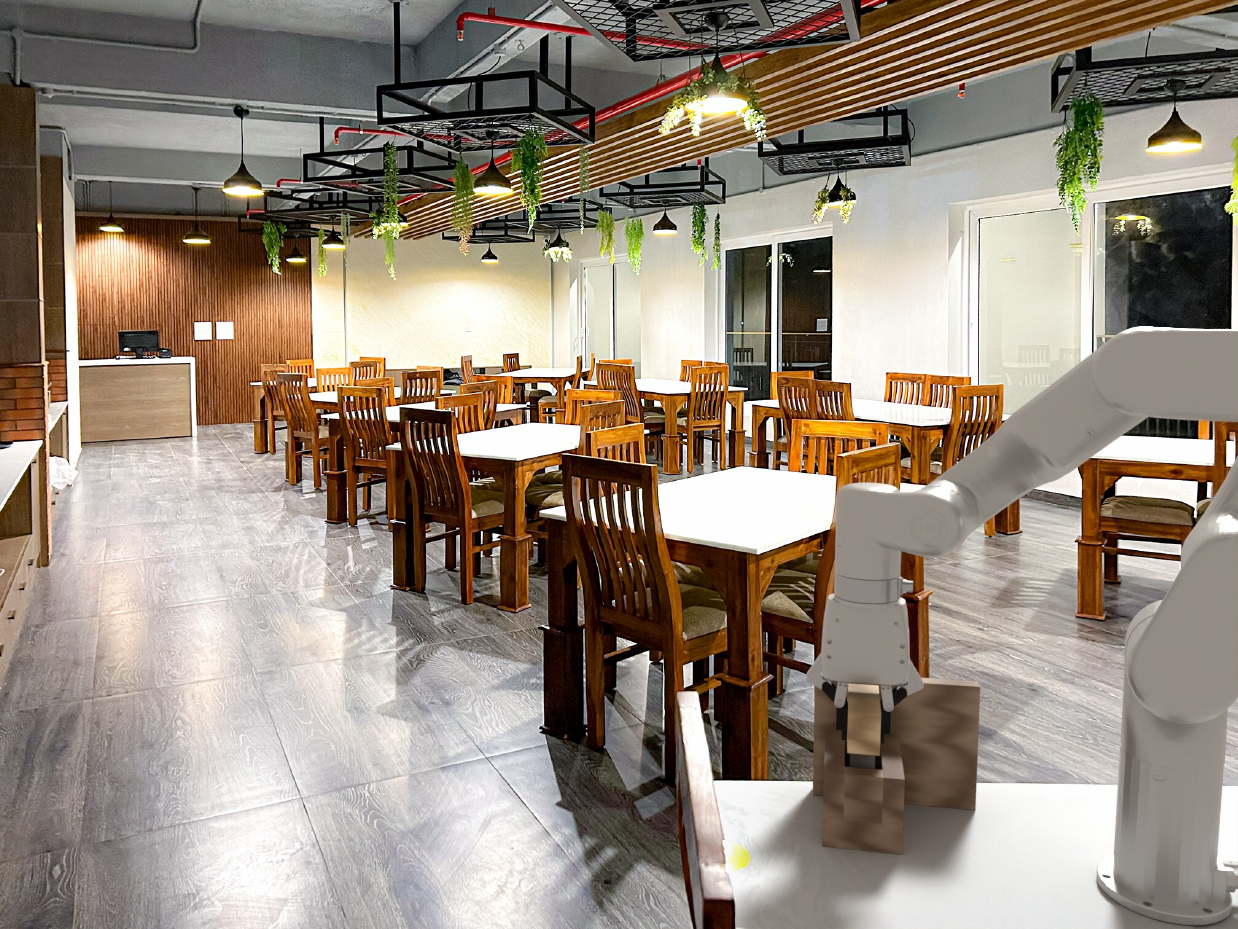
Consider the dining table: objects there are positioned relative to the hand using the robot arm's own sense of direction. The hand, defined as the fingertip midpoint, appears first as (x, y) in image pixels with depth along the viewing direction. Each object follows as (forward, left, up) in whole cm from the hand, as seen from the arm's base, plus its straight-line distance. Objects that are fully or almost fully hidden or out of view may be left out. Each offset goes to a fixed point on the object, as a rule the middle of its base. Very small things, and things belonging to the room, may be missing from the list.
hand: (862, 736), depth 118 cm
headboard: (-4, -1, -11) cm, 12 cm away
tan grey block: (0, 0, -5) cm, 5 cm away
